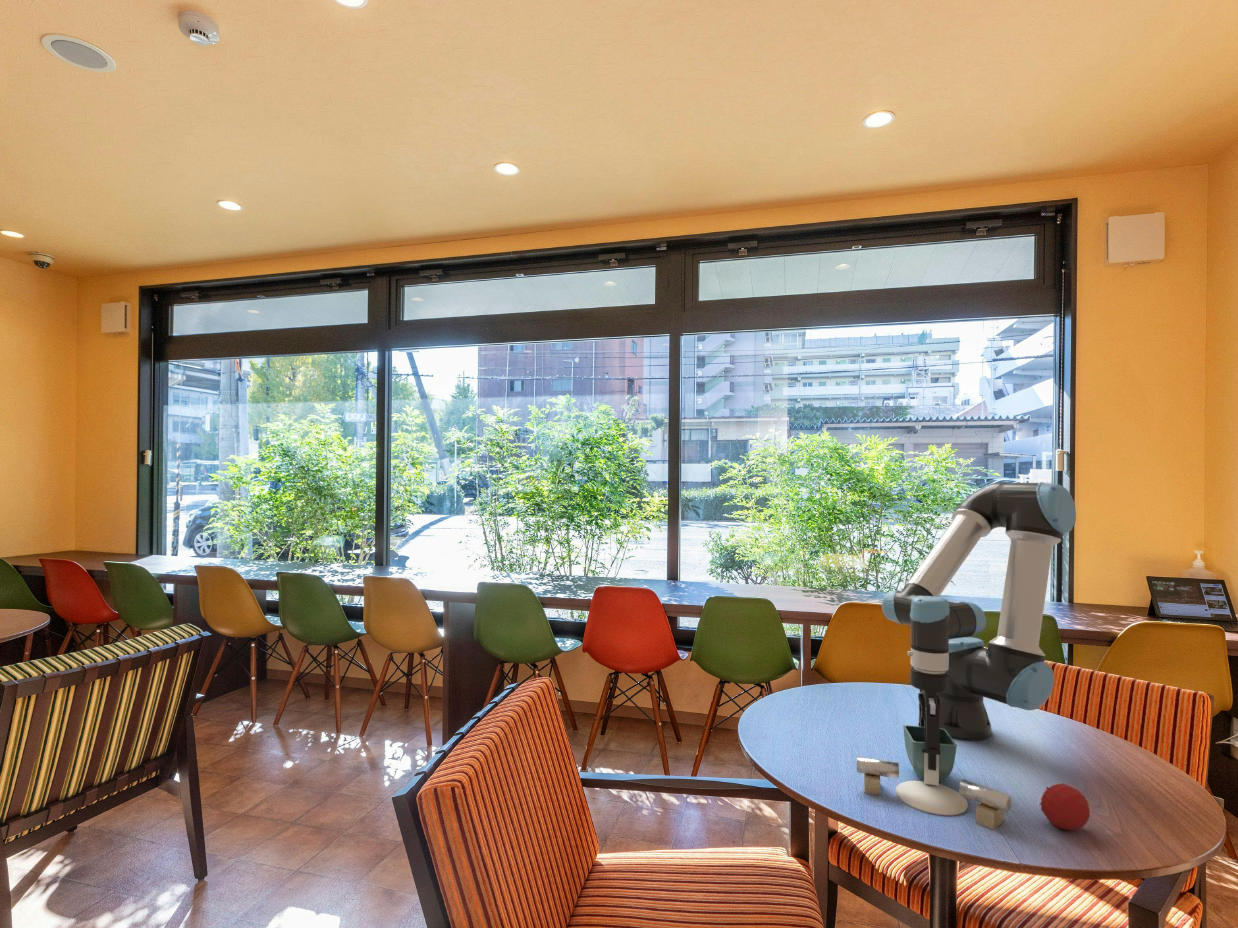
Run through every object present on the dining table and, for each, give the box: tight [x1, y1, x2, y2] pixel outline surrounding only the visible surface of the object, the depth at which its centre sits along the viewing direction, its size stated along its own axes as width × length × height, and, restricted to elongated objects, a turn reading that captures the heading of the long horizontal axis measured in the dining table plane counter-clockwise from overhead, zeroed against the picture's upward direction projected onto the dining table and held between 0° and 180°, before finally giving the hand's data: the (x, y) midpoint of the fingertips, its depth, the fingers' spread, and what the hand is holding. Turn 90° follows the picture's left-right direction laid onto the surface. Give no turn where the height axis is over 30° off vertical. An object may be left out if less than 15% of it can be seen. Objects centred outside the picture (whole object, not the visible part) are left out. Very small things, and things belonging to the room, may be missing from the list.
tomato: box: [1039, 783, 1091, 831], centre depth 119 cm, size 8×8×8 cm
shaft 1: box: [856, 756, 900, 796], centre depth 132 cm, size 8×5×6 cm, turn 70°
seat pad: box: [895, 780, 969, 817], centre depth 129 cm, size 13×13×1 cm
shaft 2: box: [958, 779, 1012, 830], centre depth 121 cm, size 8×5×6 cm, turn 40°
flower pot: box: [902, 724, 958, 783], centre depth 138 cm, size 9×9×9 cm
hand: (928, 773), depth 138 cm, fingers closed on flower pot, 9 cm apart
